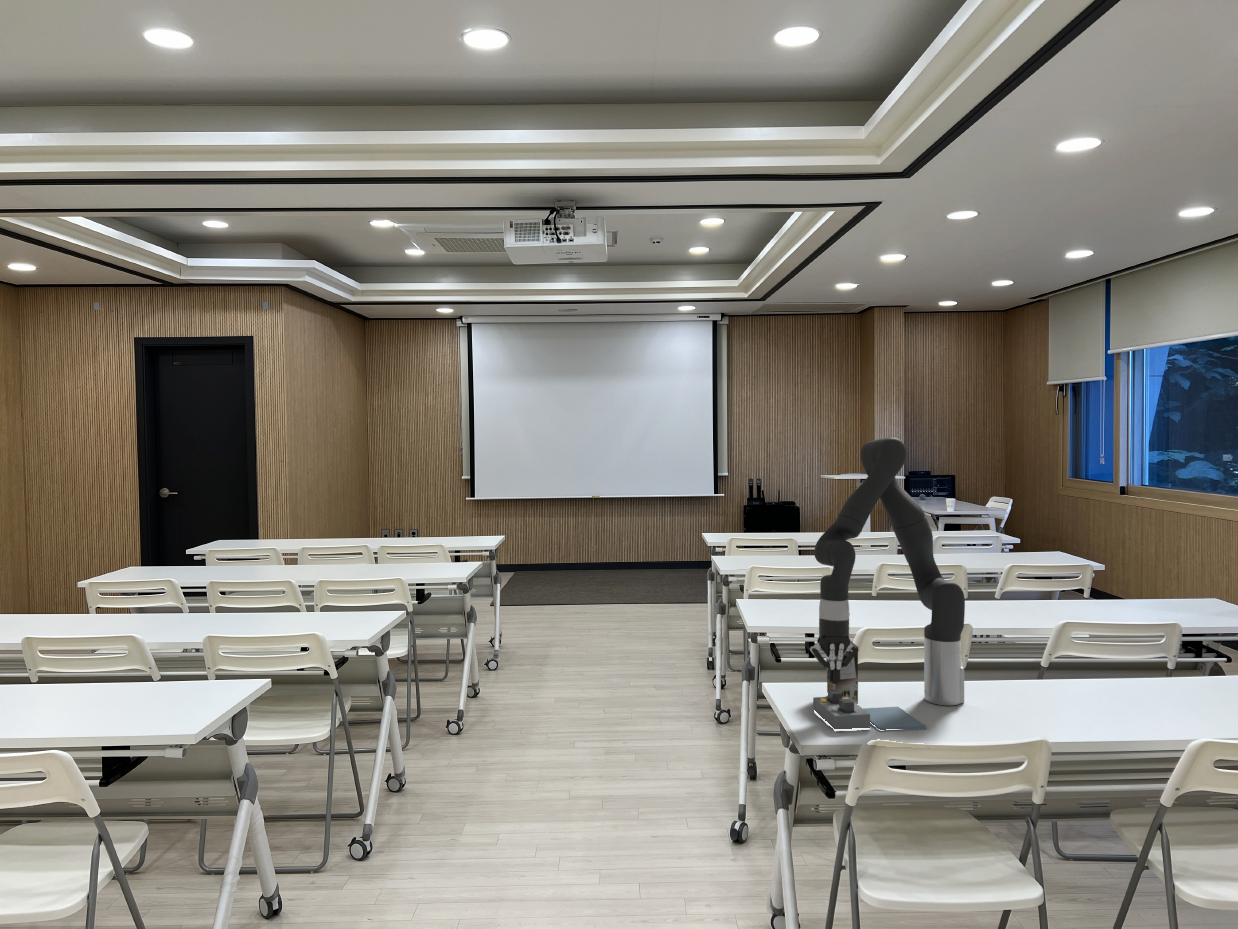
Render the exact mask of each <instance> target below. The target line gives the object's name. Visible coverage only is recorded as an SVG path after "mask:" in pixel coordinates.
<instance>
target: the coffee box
mask: <svg viewBox="0 0 1238 929" xmlns="http://www.w3.org/2000/svg"><path fill="white" fill-rule="evenodd" d="M851 644H852V645H854V646H855V647H857V648H858V649H859V646H858V645H856V643H854V642H853V641H851ZM846 652H847V649H846V651H845V652H844V654H845V653H846ZM844 654H843V656H844ZM827 673H828V669H827V668H826V674H827ZM826 684H827V685H826V691H827V693H828V690H838V691H840V692H841V693H842V696H847V697H848V698H849V699H851V700H852V701H853V702H855V703H856V704H858V705H859V651H858V652H857V653H856V655H855V656H854V657H853V659H852V660H851V661H850V663H849V664H848V665H847V667H842V668H841V669H840V681H838V684H832V683H830V681H829V680H828V678H827V677H826ZM827 693H826V694H827Z"/></svg>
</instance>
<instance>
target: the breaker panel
mask: <svg viewBox="0 0 1238 929" xmlns="http://www.w3.org/2000/svg"><path fill="white" fill-rule="evenodd" d="M812 699H813V700H812V701H813V706H812V710H813V709H814V710H815V711H816V712H817V713H818V714H819V715H820V716H821V717H822V718H823V719H825V721H827V722H828V723H829V724H830V725H831V726H832V727H833V728H834V729H852V728H870V729H871V724H870V714H869V713H868V712H867V711H865V710H864V709H863V707H861V706H860V705H859V704H858V705H857V704H856V703H855V702H854V713H842V712H841V711H840V710H839V703H838V704H831V703H830V702H829V701H828V696H819V697H813V698H812ZM842 699H848V697H847V696H842ZM850 700H851V699H850Z"/></svg>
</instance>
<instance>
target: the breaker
mask: <svg viewBox="0 0 1238 929" xmlns="http://www.w3.org/2000/svg"><path fill="white" fill-rule="evenodd" d="M839 710H840V711H841V712H842V713H854V702H853V701H852V700H850V699H849V698H848V699H839Z"/></svg>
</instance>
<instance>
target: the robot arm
mask: <svg viewBox="0 0 1238 929" xmlns="http://www.w3.org/2000/svg"><path fill="white" fill-rule="evenodd" d="M859 455H860V457H859V458H860V461H861V465H862V468H863V469H864V471H865V473H866V475H867V476H866V479H864V481H862V483H861V484H860V485H859V486H858V487H857V488H856V489H855V490H854V491H853V492H852V493H851V495H850V496H849V497H848V498H847V499H846V500H845V502H844V504H843V506H842V507H841V509H840V510H839V513H838V515H837V517H836V519H835V520H834V522H832V524H830V526H829V527H828V528H827V529H826V530H825V532H823V533H822V535H821V536H820V537H819V538H818V539H817V541H816V544H815V546H814V551H813V554H814V558H815V560H816V561H817V562H818V564H821V565H824V566H829V567H833V568H832V571H831V574H828V575H827V574H826V575H822V577H821V579H820V582H819V583H820V584H819V588H820V589H819V590H820V592H819V600H820V601H819V606H818V638H817V642H816V643H815V644H814V645H813V646H812V645H811V646H809V648H808V649H809V651H810V652H811V654H812V655H813V657H815V658H816V660H817V661H818V663H819V664H820V665H821V666H822V667H824V668H826V670H827V669H828V673H827V672H826V679H827V678H828V680H829V681H830V683H832V684H838V681H840V669H841V668H842V667H847V665H848V664H849V663H850V661H851V660H852V659H853V657H854V656H855V655H856V653H857V652H858V653H859V647H858V648H857V647H855V646H854V645H852V644H851V642H852V640H851V639H850V615H851V614H850V603H849V602H850V601H849V583H850V580H851V576H852V573H853V568H854V566H855V562H856V557H857V556H856V550H855V548H854V545H853V544H852V543H851V542H850V541H848V540H852V539H856V538H857V537H859V535H860V534H861V533H862V531H863V529H864V527H865V525H866V523H867V521H868V519H869V518H870V515H871V513H872V511H873V510H874V507H875V506H876V504H877V502H878V501H879V500H880V502H881V504H882V506H883V508H884V510H885V513H886V515H887V518H888V520H889V522H890V525H891V528H892V530H893V533H894V535H895V537H896V539H897V541H898V544H899V546H900V549H901V551H902V553H903V555H904V558H905V560H906V562H907V564H908V566H909V569H910V572H911V574H912V578H913V581H914V584H915V589H916V592H917V596H918V598H919V600H920V602H921V603H922V605H923V606H924V607H925V608H927V609H928V610H931V620H930V622H929V624H927V625H925V626H924V628H923V645H924V646H923V650H924V651H923V652H924V653H923V654H924V655H923V658H924V659H923V662H924V665H923V667H924V668H923V672H924V673H923V674H924V675H923V676H924V677H923V678H924V681H923V682H924V683H923V684H924V685H923V686H924V687H923V688H924V689H923V690H924V692H923V693H924V694H923V695H924V700H925V701H926V702H928V703H930V704H933V705H934V704H935V705H940V706H948V707H949V706H957V705H960V704H964V703H965V668H964V666H962V663H961V662H962V655H961V654H962V650H961V649H962V647H961V645H962V643H961V641H962V640H961V639H962V633H963V630H964V627H965V613H966V612H965V610H966V599H965V594H964V591H963V589H962V587H961V586H960V585H959V584H957V583H956V582H953V581H951V580H947V579H944V577H943V575H942V574H941V572H940V570H939V567H938V565H937V562H936V561H935V557H934V536H933V530H932V528H931V526H930V523H929V520H928V518H927V516H926V514H925V512H924V510H923V507H921V505H920V504H919V503H918V502H917V501H916V500H915V499H914V498H913V497H912V496H911V495H910V494H909V493H908V492H907V491H906V490H905V489H904V488H903V487H902V486H901V485H900V483H899V482H898V480H897V478H896V476H897V475H898V474H899V472H900V471H901V470H902V468H903V467H904V465H905V464H906V461H907V457H908V451H907V448H906V445H905V443H904V442H903V441H902V440H901V439H899V438H897V437H884V438H879V439H875V440H869V441H867V442H865V443H863V445H862V446H861V447H860V453H859ZM846 649H847V652H846V653H845V654H844V652H845V651H846ZM821 651H823V653H824V656H823V655H822V654H821V653H822V652H821ZM843 654H844V656H843ZM825 659H826V660H825Z"/></svg>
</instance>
